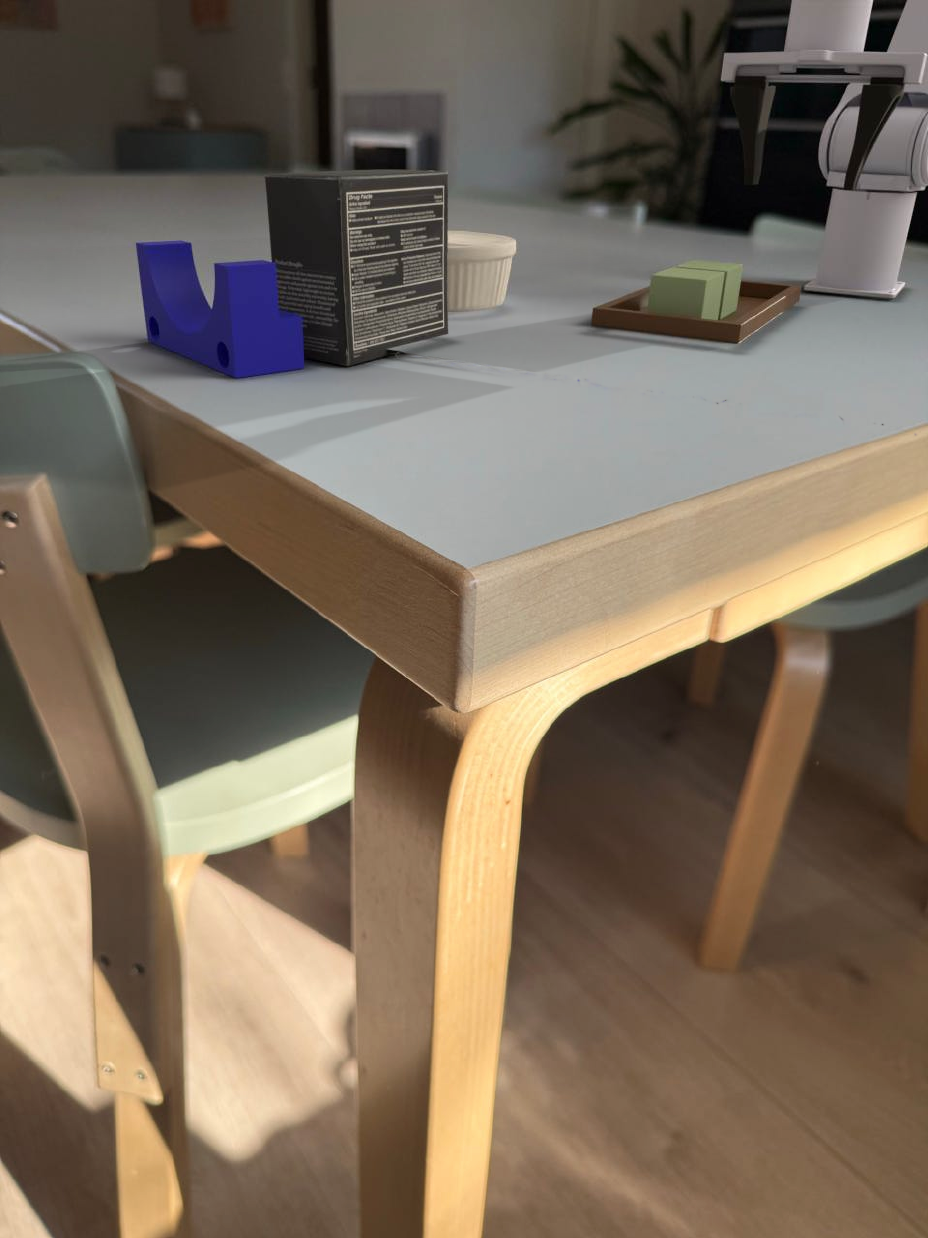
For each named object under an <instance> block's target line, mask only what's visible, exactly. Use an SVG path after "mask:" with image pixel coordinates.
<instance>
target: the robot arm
mask: <svg viewBox="0 0 928 1238" xmlns="http://www.w3.org/2000/svg"><path fill="white" fill-rule="evenodd" d="M873 2H874V0H791V4H790V11H789V17H788V23H787V30H786V36H785V41H784V42H785V43H784V48H783V51H763V52H762V51H761V52H760V51H759V52H724V53H723V54H724V55H723V61H722V68H721V75H720V82H723V83H724V82H725V83H733V86H731V87H730V90H729V92H730V98H731V102H732V106H733V108H734V111H735V115H736V119H737V124H738V127H739V132H740V137H741V145H742V151H743V152H742V153H743V166H744V179H743V180H744V181H743V183H744V184H743V185H744V186H755V185H759V182H760V178H761V173H762V166H763V165H762V164H763V157H764V156H763V155H764V147H765V137H766V133H767V128H768V123H769V118H770V114H771V110H772V105H773V101H774V97H775V93H776V85H771V84H769V83H812V84H813V83H817V84H818V83H820V84H822V83H823V84H848V85H847V86H846V88H845V91H844V93H843V95H842V97H841V99H840V101H839V103H838V105H837V107H836V108H835V109H834V111H833V112H832V113H831V115H830V116H829V117H828V119H827V120H826V122H825V124H824V127H823V129H822V132H821V135H820V139H819V145H818V165H819V168H820V171H821V173H822V176H823V178H825V180H826V187H833V188H832V191H831V198H830V202H829V207H828V213H827V218H826V223H825V228H824V234H823V239H822V245H821V249H820V255H819V260H818V264H817V270H816V276H815V278H814V279H813V280H810V281H809V282H808V283H806V284H804V286H803V290H804V291H808V292H815V293H827V294H829V293H830V294H837V295H838V294H839V295H847V296H849V295H850V296H858V297H859V296H860V297H869V298H877V299H878V298H879V299H888V300H889V299H892V300H893V299H895V298H896V297H897V296H898V295H899V293H900V292H901V291H902V290H903V289H904V287H905V285H906V282H904V281H898V278H899V273H900V269H901V264H902V259H903V256H904V251H905V246H906V242H907V239H908V238H907V237H908V233H909V229H910V226H911V225H910V224H911V220H912V216H913V212H914V207H915V203H916V198H917V195H918V192H917V191H925V190H926V187H927V186H928V0H906V2H905V5H904V7H903V10H902V12H901V15H900V18H899V20H898V23H897V25H896V28H895V30H894V33H893V36H892V38H891V41H890V43H889V46H888V48H887V51H886V52H885V51H864V49H865V45H866V40H867V34H868V29H869V23H870V20H871V19H870V18H871V14H872V12H871V11H872V8H873ZM799 68H800V69H844V70H843V71H844V73H847V74H791V73H796V72H797V69H799ZM782 73H784V74H782ZM785 73H786V74H785Z"/></svg>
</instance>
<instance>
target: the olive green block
mask: <svg viewBox="0 0 928 1238" xmlns="http://www.w3.org/2000/svg"><path fill="white" fill-rule="evenodd" d="M674 267H676V268H686V269H697V270H708V271H719V272H725V274H724V281H723V288H722V295H721V301H720V308H719V315H718V320H721V319H722V318H724V317H726V316H728V315H729V314H731V313H733V312H734V311H736V309H737V303H738V296H739V290H740V284H741V280H742V277H743V276H742V275H743V270H744V264H743V263H738V262H737V263H736V262H724V261H714V260H704V259H703V260H702V259H692V260H689V261H686V262H683V263H681V264H678V265H675V266H674Z"/></svg>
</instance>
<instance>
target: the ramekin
mask: <svg viewBox="0 0 928 1238" xmlns="http://www.w3.org/2000/svg"><path fill="white" fill-rule="evenodd" d="M516 253H517V241H516V239H515V238H514V237H510V236H507V235H501V234H493V233H484V232H475V231H467V230H448V254H447V263H448V266H447V269H448V272H447V275H448V276H447V284H448V286H447V301H448V307H447V309H448V312H469V311H470V312H472V311H482V310H490V309H494V308H497V307H499V306H501V305H503V303H504V301H505V298H506V294H507V289H508V284H509V283H508V282H509V279H510V274H511V269H512V262H513V257H514V255H515V254H516Z"/></svg>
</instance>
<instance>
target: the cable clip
mask: <svg viewBox="0 0 928 1238" xmlns="http://www.w3.org/2000/svg"><path fill="white" fill-rule="evenodd" d="M192 244H193V243H192V242H189V241H185V240H164V241H163V240H162V241H145V242H143V241H142V242H135V248H136V249H135V250H136V256H137V265H138V273H139V280H140V290H141V297H142V298H141V299H142V305H143V306H142V307H143V312H144V313H143V314H144V321H145V329H146V337H147V338H146V339H147V342H149V343H151V344H154V345H156V346H158V347H161V348H163V349H166V350H168V351H171V352H173V353H175V354H177V355H180V356H182V357H185V358H188V359H189V360H191V361H195V362H197V363H199V364H202V365H203V366H206V367H209V368H211V369H213V370H216V371H217V372H220V373H223V374H225V375H228V376H229V377H233V378H235V379H241V378H247V377H254V376H260V375H261V376H262V375H268V374H274V373H275V374H276V373H281V372H289V371H295V370H296V371H297V370H303V369H305V357H304V348H303V327H302V316H299V315H296V314H293V313H289V312H286V311H283V310H279V306H278V289H277V272H276V263H273V262H272V261H269V260H265V259H258V260H256V259H255V260H243V261H242V260H241V261H225V262H214V263H213V268H214V269H213V270H214V271H213V272H214V288H213V289H214V290H213V300H212V306H211V305H210V304H209V302H208V300H207V298H206V296H205V293H204V291H203V288H202V285H201V282H200V280H199V276H198V272H197V269H196V268H197V267H196V264H195V259H194V258H195V257H194V253H193V245H192Z"/></svg>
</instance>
